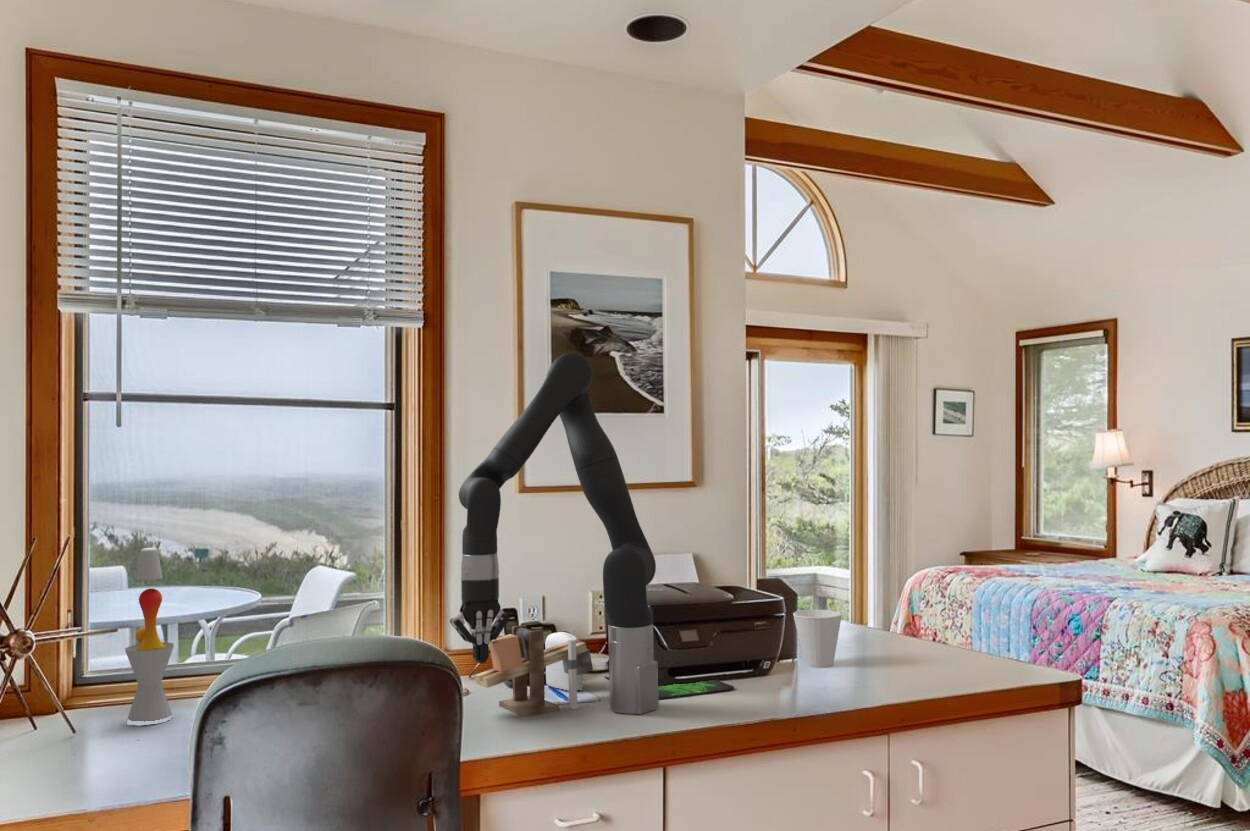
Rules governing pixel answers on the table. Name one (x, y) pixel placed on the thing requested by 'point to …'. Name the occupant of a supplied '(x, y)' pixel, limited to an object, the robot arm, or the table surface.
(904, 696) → the table surface
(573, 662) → the post
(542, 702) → the pivot post
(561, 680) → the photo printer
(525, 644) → the beam
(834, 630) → the cup
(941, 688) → the table surface
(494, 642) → the rider
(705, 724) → the table surface
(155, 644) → the lava lamp
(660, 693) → the mouse mat
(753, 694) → the table surface
